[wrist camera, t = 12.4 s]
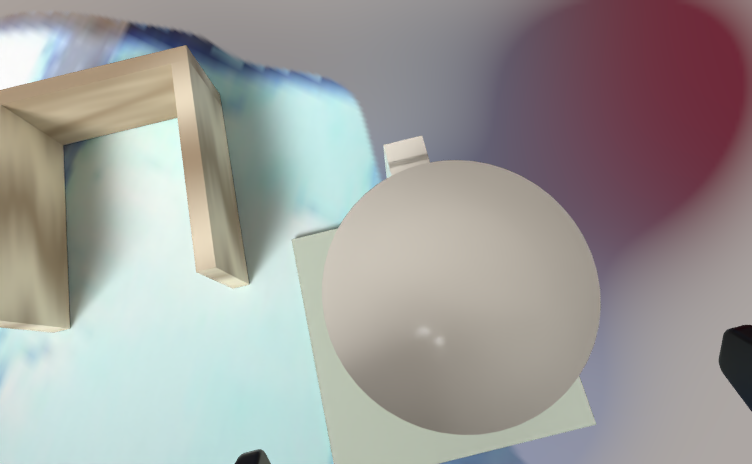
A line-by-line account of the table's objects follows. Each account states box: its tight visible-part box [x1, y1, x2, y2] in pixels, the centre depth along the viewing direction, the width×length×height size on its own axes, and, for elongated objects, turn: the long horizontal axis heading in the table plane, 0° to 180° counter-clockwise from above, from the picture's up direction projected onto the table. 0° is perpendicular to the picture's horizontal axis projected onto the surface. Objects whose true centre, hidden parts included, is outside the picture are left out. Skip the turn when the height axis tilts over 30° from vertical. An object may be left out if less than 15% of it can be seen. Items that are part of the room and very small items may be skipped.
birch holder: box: [0, 45, 249, 333], centre depth 22 cm, size 11×10×4 cm
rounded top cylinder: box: [322, 136, 601, 435], centre depth 16 cm, size 8×6×11 cm
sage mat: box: [292, 228, 596, 464], centre depth 21 cm, size 11×11×1 cm
